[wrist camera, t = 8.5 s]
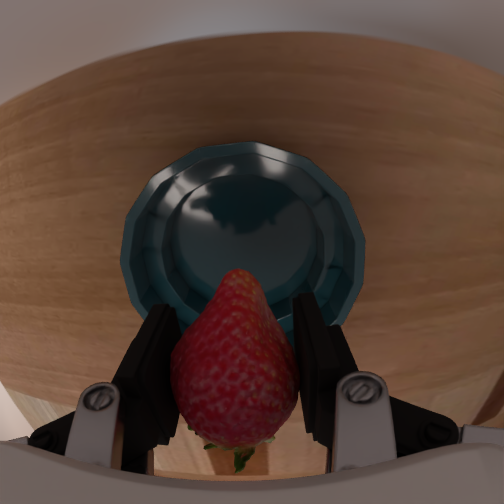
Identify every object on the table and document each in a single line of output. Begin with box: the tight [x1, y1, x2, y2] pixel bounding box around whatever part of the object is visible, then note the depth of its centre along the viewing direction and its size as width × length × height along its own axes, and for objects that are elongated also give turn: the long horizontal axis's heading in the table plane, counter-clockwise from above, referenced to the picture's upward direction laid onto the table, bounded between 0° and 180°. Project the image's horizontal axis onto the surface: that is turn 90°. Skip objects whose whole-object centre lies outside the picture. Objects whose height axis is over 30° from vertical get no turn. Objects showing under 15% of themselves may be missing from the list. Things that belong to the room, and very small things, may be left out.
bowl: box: [120, 141, 365, 350], centre depth 18 cm, size 13×13×5 cm
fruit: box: [170, 269, 300, 473], centre depth 8 cm, size 4×6×5 cm
